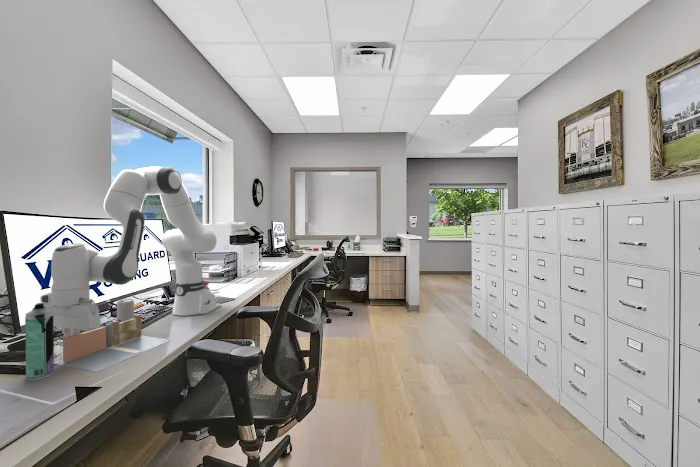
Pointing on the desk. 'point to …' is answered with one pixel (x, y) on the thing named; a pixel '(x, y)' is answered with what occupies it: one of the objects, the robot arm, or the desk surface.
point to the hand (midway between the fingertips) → (71, 341)
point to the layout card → (114, 354)
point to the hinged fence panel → (87, 343)
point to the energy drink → (125, 310)
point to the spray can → (39, 342)
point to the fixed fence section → (126, 330)
